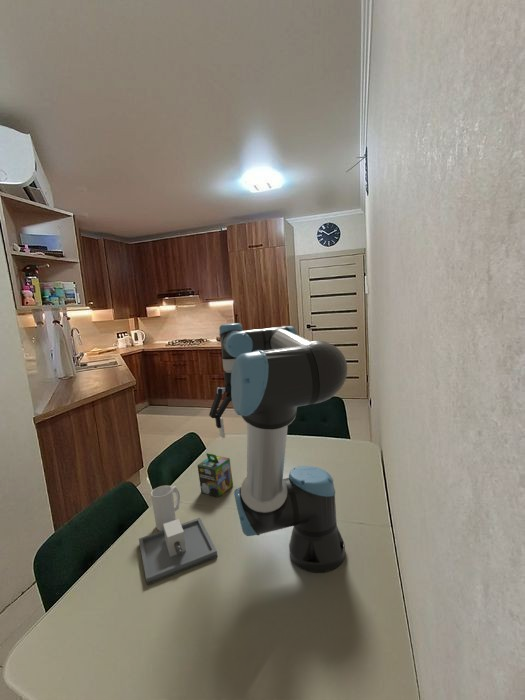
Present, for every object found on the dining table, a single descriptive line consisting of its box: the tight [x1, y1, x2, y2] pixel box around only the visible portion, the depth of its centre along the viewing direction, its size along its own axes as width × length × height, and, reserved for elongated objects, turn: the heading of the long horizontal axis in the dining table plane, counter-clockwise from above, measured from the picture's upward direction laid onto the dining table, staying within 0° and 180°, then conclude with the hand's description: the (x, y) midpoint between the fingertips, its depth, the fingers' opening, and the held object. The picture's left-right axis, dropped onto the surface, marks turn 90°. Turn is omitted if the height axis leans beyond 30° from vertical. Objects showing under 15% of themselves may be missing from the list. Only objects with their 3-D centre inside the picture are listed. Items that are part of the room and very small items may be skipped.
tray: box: [138, 517, 218, 586], centre depth 101 cm, size 18×19×2 cm
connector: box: [163, 518, 186, 557], centre depth 100 cm, size 15×5×6 cm, turn 25°
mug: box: [150, 485, 181, 532], centre depth 114 cm, size 10×7×12 cm, turn 144°
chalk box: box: [197, 453, 234, 498], centre depth 132 cm, size 9×9×15 cm
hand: (241, 431), depth 117 cm, fingers open, 13 cm apart
